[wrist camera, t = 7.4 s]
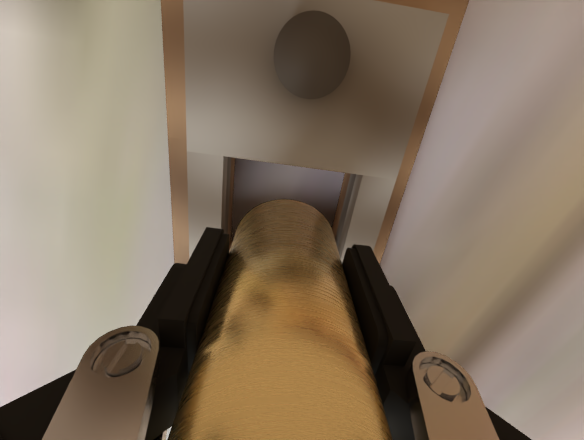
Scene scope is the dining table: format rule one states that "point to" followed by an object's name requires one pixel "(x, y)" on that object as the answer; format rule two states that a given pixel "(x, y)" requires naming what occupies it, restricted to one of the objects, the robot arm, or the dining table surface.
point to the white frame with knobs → (301, 101)
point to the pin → (282, 341)
